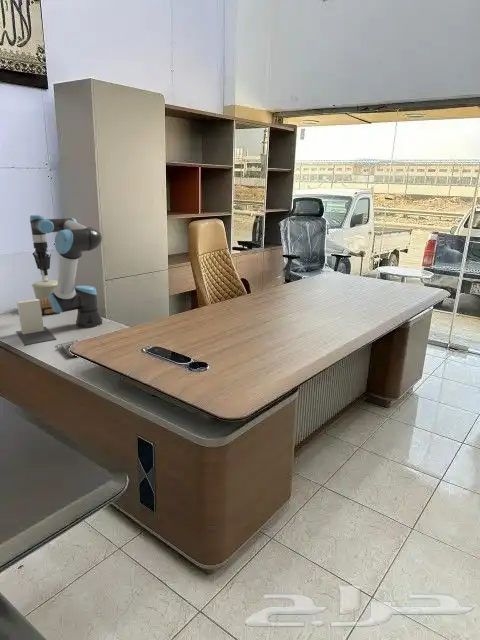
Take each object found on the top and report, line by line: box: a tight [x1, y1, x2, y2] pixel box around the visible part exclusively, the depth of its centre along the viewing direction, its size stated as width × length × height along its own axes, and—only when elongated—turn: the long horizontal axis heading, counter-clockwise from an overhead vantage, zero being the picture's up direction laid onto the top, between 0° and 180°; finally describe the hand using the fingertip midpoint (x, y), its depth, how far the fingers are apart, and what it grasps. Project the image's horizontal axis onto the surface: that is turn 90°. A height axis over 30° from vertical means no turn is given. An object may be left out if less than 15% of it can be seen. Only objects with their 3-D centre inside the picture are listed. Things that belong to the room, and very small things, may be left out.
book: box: [16, 298, 45, 334], centre depth 246 cm, size 4×11×18 cm, turn 125°
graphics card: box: [54, 339, 79, 358], centre depth 219 cm, size 17×4×12 cm
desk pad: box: [15, 326, 57, 347], centre depth 243 cm, size 26×16×1 cm, turn 35°
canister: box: [31, 278, 58, 305], centre depth 296 cm, size 18×18×21 cm
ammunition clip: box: [41, 297, 61, 317], centre depth 282 cm, size 11×2×12 cm, turn 121°
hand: (45, 280), depth 267 cm, fingers closed
